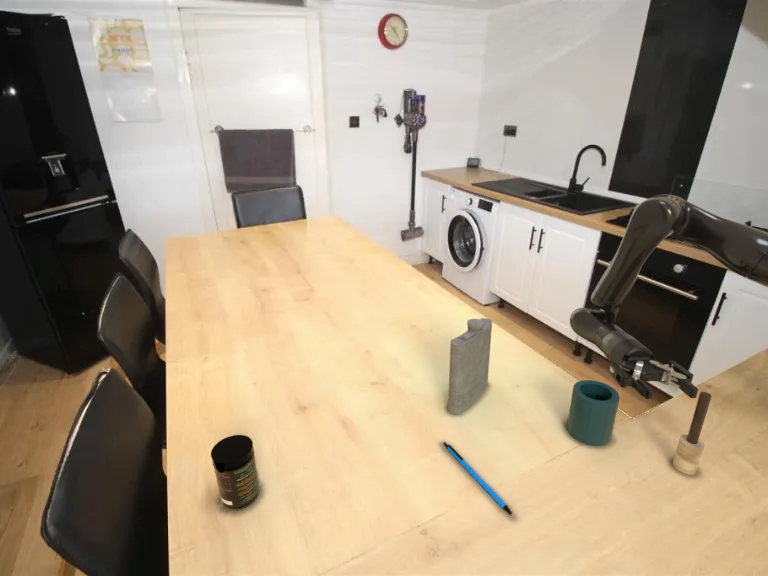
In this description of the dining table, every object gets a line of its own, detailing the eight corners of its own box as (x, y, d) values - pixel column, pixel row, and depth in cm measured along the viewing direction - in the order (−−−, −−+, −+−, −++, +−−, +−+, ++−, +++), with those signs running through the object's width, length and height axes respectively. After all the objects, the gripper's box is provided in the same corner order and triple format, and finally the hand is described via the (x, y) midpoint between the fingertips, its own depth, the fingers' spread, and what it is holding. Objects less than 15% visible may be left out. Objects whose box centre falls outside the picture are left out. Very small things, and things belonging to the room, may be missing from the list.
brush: (687, 459, 77) (708, 387, 72) (701, 474, 74) (724, 400, 68) (668, 460, 77) (688, 388, 72) (681, 475, 74) (703, 401, 68)
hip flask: (477, 379, 104) (482, 307, 97) (492, 384, 102) (498, 311, 95) (445, 410, 93) (448, 331, 86) (461, 417, 90) (465, 337, 83)
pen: (446, 444, 83) (446, 439, 83) (514, 515, 67) (515, 510, 67) (442, 445, 83) (442, 441, 82) (510, 518, 67) (510, 513, 66)
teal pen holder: (598, 418, 89) (605, 379, 85) (618, 445, 81) (628, 403, 78) (560, 419, 89) (566, 380, 85) (577, 446, 81) (584, 404, 78)
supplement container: (268, 485, 74) (260, 438, 71) (245, 516, 68) (236, 467, 65) (237, 476, 76) (228, 431, 73) (212, 506, 70) (201, 458, 67)
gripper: (597, 339, 92) (639, 379, 77) (660, 337, 92) (715, 377, 77) (592, 367, 95) (631, 412, 80) (653, 366, 95) (705, 410, 79)
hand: (672, 395), depth 78 cm, fingers open, 8 cm apart
